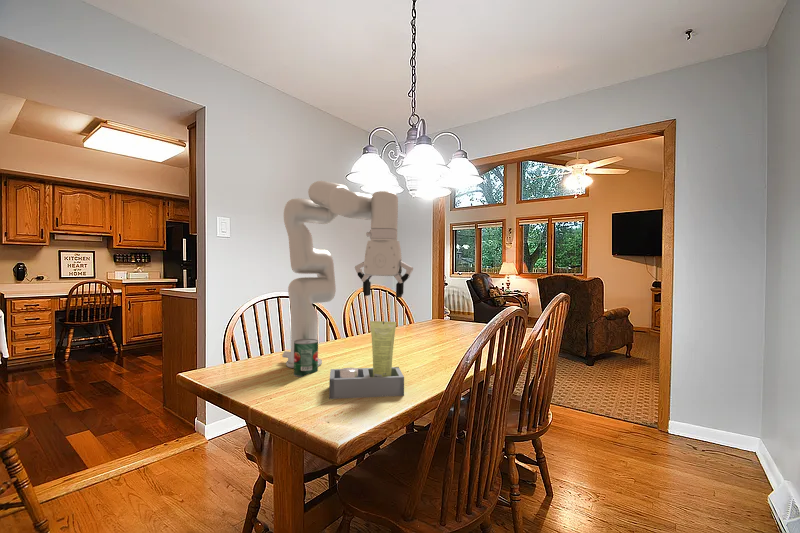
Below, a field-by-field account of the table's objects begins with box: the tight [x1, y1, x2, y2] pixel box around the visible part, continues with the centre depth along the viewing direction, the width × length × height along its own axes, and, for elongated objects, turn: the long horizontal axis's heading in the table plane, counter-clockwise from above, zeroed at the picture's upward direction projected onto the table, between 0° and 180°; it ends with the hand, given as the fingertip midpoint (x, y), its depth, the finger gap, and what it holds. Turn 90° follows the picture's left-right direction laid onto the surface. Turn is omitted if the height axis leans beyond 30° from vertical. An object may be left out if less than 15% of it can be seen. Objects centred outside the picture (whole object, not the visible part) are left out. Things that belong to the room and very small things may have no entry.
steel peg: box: [340, 367, 358, 378], centre depth 108 cm, size 5×5×6 cm
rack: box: [328, 366, 405, 400], centre depth 108 cm, size 20×10×6 cm, turn 99°
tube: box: [369, 320, 397, 377], centre depth 109 cm, size 6×5×20 cm
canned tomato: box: [293, 339, 319, 378], centre depth 128 cm, size 8×8×11 cm
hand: (382, 296), depth 109 cm, fingers open, 9 cm apart
